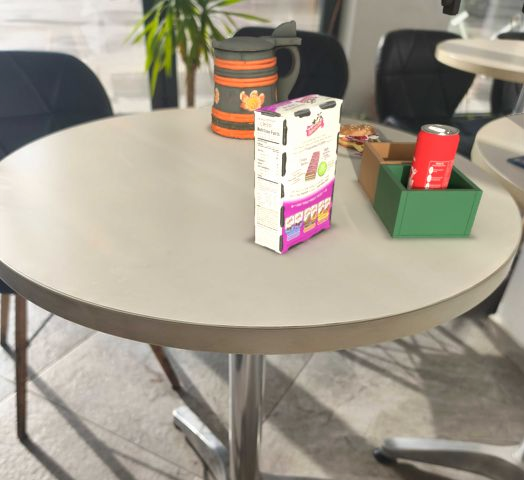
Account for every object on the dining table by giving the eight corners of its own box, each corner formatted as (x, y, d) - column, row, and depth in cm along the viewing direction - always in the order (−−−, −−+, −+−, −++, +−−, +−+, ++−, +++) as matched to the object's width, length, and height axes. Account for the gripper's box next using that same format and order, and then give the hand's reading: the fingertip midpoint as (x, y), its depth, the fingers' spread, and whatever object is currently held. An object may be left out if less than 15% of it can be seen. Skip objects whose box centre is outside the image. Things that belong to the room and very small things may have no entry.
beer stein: (280, 118, 116) (284, 16, 104) (308, 135, 106) (317, 23, 93) (202, 124, 110) (197, 16, 98) (224, 142, 100) (222, 24, 87)
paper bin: (416, 184, 83) (426, 142, 79) (437, 207, 76) (449, 162, 71) (358, 184, 83) (364, 141, 79) (372, 208, 75) (380, 162, 71)
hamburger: (309, 147, 98) (311, 115, 95) (352, 135, 106) (356, 105, 102) (365, 165, 91) (371, 130, 87) (408, 151, 98) (415, 118, 95)
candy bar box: (302, 218, 71) (312, 92, 61) (331, 228, 69) (346, 99, 59) (250, 243, 64) (252, 106, 54) (280, 256, 62) (287, 115, 52)
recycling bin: (440, 209, 75) (452, 163, 71) (468, 240, 67) (483, 191, 63) (372, 209, 74) (380, 163, 70) (391, 241, 66) (401, 191, 62)
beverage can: (424, 229, 67) (446, 137, 60) (393, 217, 70) (411, 127, 63) (445, 220, 70) (469, 130, 63) (414, 208, 73) (434, 121, 66)
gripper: (605, -193, 50) (544, 11, 61) (439, -198, 49) (407, 11, 60) (657, -213, 44) (580, 17, 55) (470, -218, 43) (428, 17, 54)
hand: (490, 14), depth 57 cm, fingers open, 9 cm apart
